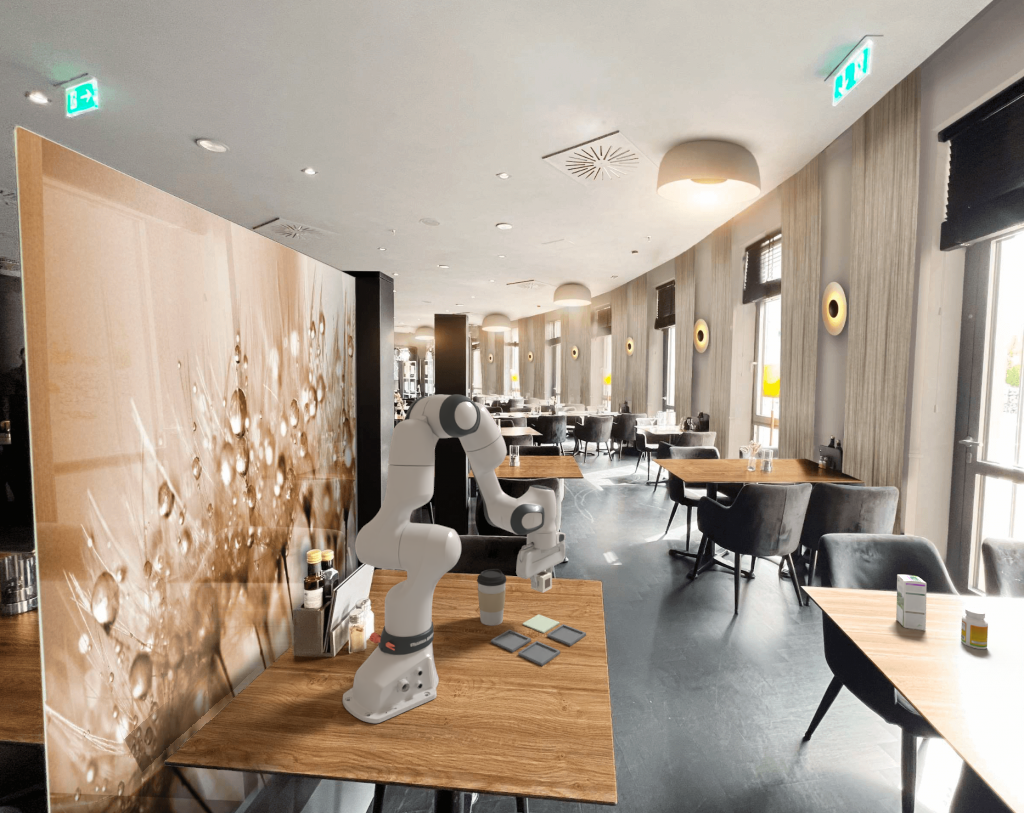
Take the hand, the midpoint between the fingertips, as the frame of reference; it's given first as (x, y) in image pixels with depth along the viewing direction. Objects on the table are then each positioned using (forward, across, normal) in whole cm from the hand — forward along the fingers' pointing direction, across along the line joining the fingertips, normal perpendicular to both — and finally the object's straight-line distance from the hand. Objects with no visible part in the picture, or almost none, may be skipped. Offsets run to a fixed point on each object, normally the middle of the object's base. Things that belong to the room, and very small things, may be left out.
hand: (541, 583), depth 150 cm
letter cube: (+1, 0, 0) cm, 1 cm away
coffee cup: (+12, -8, +13) cm, 20 cm away
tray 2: (+12, -14, -10) cm, 21 cm away
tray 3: (+12, -1, -10) cm, 16 cm away
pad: (+12, 0, 0) cm, 12 cm away
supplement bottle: (+12, +69, -100) cm, 122 cm away
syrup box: (+13, +72, -86) cm, 113 cm away
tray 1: (+12, -14, 0) cm, 19 cm away
